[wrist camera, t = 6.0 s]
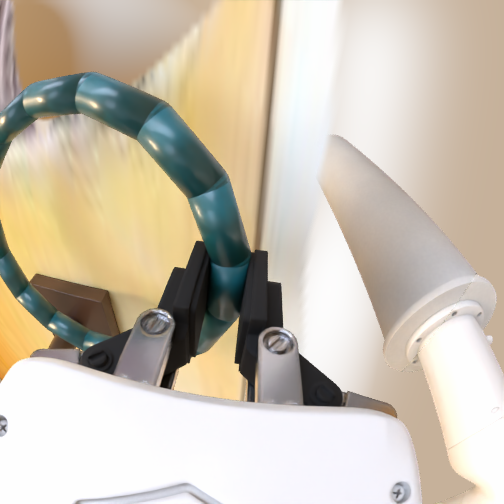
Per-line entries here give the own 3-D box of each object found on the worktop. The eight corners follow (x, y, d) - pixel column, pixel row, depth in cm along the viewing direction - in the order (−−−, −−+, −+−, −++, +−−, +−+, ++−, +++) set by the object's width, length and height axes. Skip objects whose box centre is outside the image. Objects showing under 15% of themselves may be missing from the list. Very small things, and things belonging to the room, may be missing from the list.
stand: (107, 290, 22) (73, 358, 16) (124, 348, 27) (105, 406, 21) (35, 273, 22) (-2, 327, 15) (60, 330, 27) (36, 379, 21)
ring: (283, 78, 8) (286, 77, 7) (229, 370, 17) (226, 390, 16) (-24, 101, 7) (-44, 109, 6) (30, 315, 17) (20, 329, 15)
